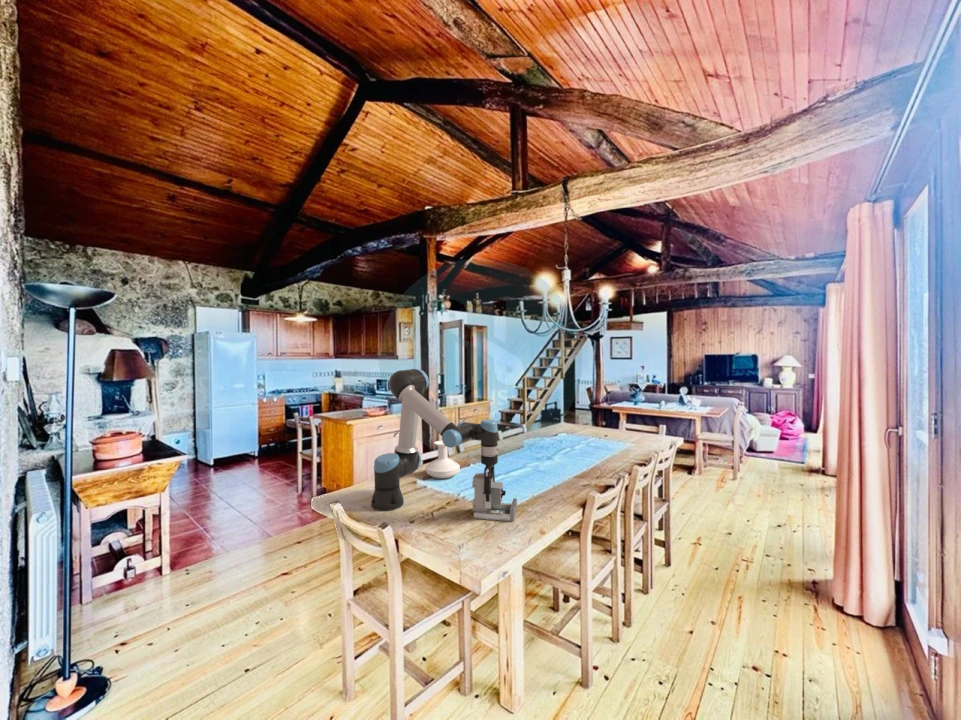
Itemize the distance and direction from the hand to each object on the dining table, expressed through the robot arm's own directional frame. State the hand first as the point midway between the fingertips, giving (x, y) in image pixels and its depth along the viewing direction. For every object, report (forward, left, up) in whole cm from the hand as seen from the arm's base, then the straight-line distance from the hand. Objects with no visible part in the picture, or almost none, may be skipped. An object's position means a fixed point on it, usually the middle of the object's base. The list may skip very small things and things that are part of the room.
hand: (489, 504), depth 184 cm
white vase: (-36, +47, -4) cm, 59 cm away
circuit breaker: (0, 0, -2) cm, 2 cm away
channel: (+2, 0, -4) cm, 5 cm away
